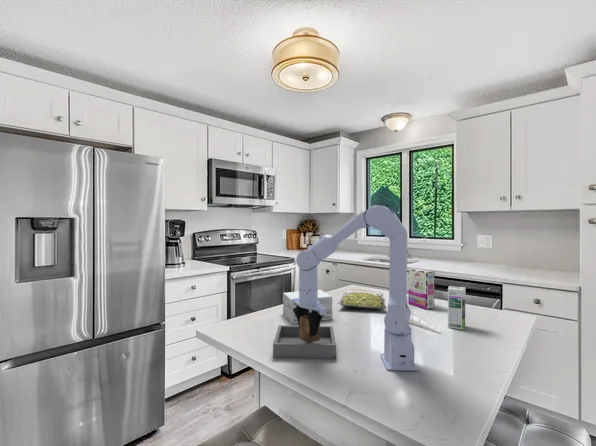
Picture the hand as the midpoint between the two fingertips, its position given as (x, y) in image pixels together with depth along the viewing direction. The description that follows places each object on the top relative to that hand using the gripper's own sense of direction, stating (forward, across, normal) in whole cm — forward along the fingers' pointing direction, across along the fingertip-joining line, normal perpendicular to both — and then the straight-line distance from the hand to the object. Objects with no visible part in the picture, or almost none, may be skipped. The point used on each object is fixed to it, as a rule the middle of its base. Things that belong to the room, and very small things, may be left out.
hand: (308, 332), depth 101 cm
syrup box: (+5, -19, -55) cm, 58 cm away
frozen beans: (+5, +23, -51) cm, 56 cm away
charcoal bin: (+5, +1, +1) cm, 5 cm away
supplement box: (+5, +24, -19) cm, 31 cm away
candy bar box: (+5, +4, -69) cm, 70 cm away
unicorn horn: (+5, -7, -46) cm, 47 cm away
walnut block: (+2, 0, 0) cm, 2 cm away
